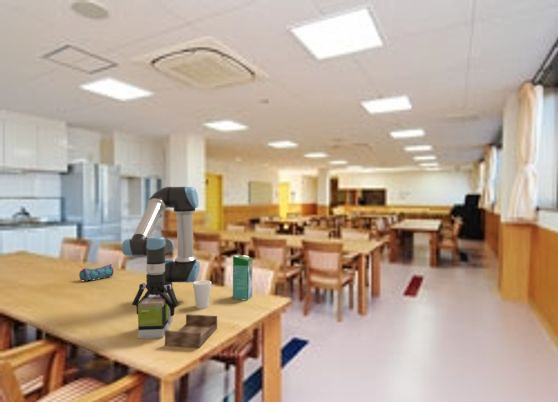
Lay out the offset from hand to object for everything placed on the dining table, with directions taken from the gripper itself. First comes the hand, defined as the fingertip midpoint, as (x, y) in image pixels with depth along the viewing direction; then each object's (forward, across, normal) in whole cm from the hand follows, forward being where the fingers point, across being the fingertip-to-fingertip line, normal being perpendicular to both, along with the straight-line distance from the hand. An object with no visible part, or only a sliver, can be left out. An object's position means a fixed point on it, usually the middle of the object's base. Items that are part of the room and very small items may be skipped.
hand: (155, 322), depth 143 cm
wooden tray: (+4, +18, -2) cm, 19 cm away
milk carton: (+4, +24, +56) cm, 61 cm away
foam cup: (+4, +7, +36) cm, 37 cm away
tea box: (+4, 0, 0) cm, 4 cm away
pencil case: (+4, -92, +85) cm, 126 cm away
